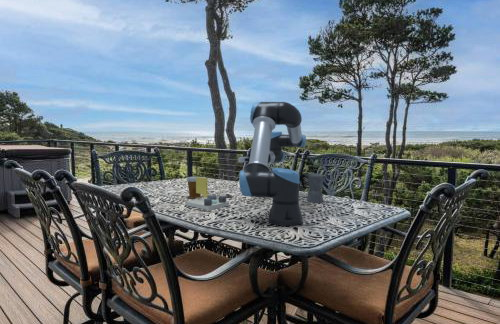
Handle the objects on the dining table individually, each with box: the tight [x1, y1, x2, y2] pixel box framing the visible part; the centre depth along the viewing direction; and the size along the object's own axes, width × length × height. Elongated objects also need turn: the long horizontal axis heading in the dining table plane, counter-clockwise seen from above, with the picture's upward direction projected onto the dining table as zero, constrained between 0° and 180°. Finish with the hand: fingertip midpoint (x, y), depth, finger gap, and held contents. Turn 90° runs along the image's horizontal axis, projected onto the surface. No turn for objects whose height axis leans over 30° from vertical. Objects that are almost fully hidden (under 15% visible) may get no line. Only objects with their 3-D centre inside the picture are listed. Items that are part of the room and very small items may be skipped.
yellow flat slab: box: [195, 176, 218, 200], centre depth 195 cm, size 14×5×12 cm, turn 50°
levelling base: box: [184, 195, 230, 211], centre depth 191 cm, size 18×15×5 cm
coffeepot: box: [299, 169, 328, 204], centre depth 203 cm, size 15×9×18 cm, turn 79°
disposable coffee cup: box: [186, 176, 202, 199], centre depth 214 cm, size 10×10×12 cm
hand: (239, 160), depth 195 cm, fingers closed
